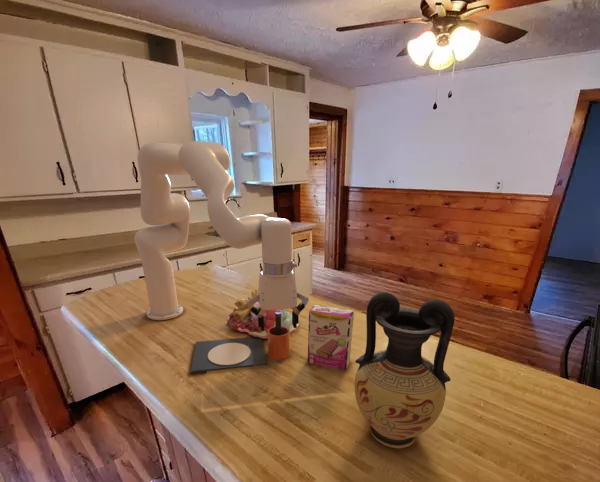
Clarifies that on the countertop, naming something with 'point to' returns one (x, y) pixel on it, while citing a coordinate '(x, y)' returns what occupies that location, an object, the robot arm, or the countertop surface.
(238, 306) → the candy landscape model
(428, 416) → the amphora
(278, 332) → the marker pen
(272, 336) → the pen pot
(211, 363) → the board
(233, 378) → the countertop surface
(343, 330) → the candy bar box
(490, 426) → the countertop surface
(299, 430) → the countertop surface
